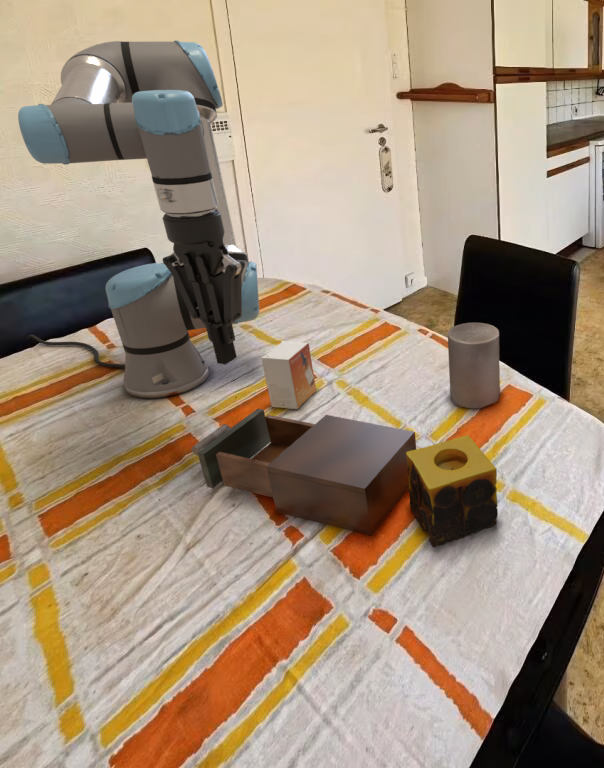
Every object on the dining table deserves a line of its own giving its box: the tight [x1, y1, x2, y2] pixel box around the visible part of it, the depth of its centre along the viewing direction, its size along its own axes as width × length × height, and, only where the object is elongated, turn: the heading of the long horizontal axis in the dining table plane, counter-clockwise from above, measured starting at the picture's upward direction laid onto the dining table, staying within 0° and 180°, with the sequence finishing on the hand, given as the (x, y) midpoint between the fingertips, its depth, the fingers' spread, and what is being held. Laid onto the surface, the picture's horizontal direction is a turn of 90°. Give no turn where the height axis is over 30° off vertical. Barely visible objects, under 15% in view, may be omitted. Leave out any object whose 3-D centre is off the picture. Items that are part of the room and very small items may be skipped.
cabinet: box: [266, 414, 417, 537], centre depth 93 cm, size 16×15×8 cm
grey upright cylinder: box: [447, 322, 501, 409], centre depth 118 cm, size 10×10×15 cm
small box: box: [261, 340, 317, 410], centre depth 118 cm, size 8×6×10 cm
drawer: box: [190, 408, 316, 498], centre depth 98 cm, size 20×14×6 cm
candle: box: [406, 434, 499, 548], centre depth 88 cm, size 10×10×10 cm
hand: (227, 360), depth 99 cm, fingers closed
